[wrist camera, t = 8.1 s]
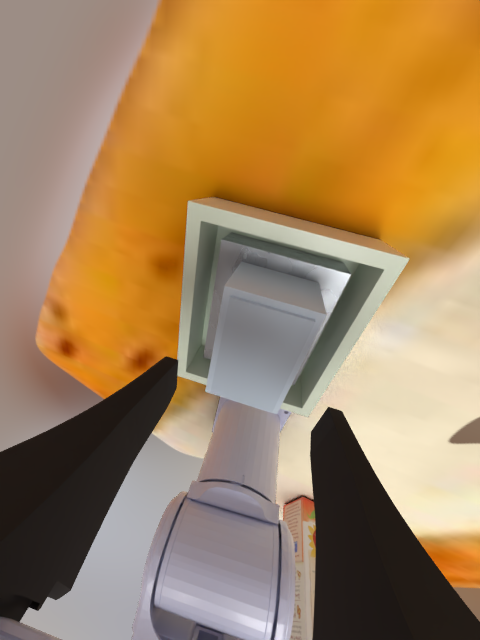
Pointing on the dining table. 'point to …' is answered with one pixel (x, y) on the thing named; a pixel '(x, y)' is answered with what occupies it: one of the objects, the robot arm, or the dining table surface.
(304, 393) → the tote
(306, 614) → the cracker box
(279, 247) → the tin block
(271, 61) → the dining table surface
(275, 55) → the dining table surface
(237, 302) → the pale grey box
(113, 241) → the dining table surface
